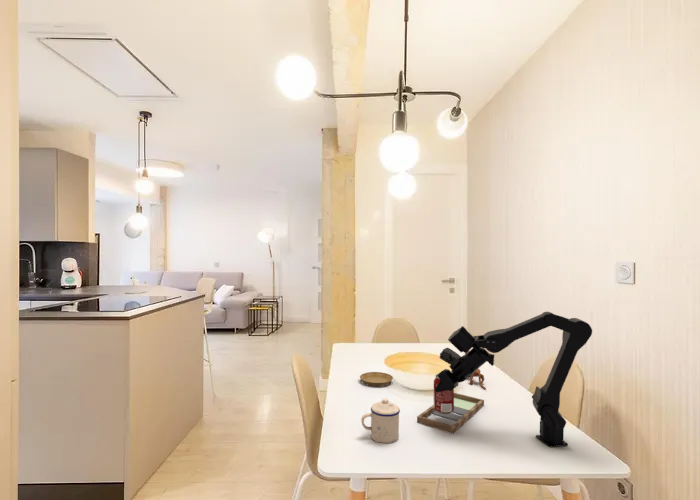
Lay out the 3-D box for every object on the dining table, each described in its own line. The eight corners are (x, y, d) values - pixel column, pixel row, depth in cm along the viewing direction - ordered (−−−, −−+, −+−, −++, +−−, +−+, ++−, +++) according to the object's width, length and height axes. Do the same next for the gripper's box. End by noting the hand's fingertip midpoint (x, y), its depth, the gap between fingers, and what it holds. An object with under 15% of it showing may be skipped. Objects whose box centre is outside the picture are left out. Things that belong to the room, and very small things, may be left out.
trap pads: (461, 422, 128) (461, 421, 128) (432, 413, 134) (432, 413, 134) (472, 412, 136) (472, 411, 136) (444, 404, 143) (444, 404, 143)
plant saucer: (370, 390, 157) (370, 384, 157) (354, 379, 170) (354, 374, 170) (399, 385, 164) (399, 379, 164) (381, 375, 177) (381, 370, 177)
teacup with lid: (395, 429, 122) (396, 393, 122) (402, 443, 113) (403, 404, 113) (359, 430, 120) (359, 394, 121) (363, 445, 111) (364, 405, 112)
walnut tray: (453, 434, 119) (453, 427, 119) (417, 422, 127) (417, 416, 127) (483, 405, 143) (483, 400, 143) (451, 396, 151) (451, 391, 151)
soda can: (454, 416, 124) (454, 380, 125) (433, 414, 126) (433, 378, 126) (453, 408, 131) (453, 373, 131) (433, 406, 132) (433, 372, 133)
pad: (472, 412, 137) (472, 411, 137) (445, 404, 143) (445, 403, 143) (480, 405, 143) (480, 404, 143) (453, 398, 150) (453, 397, 150)
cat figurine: (492, 391, 160) (493, 359, 160) (478, 392, 159) (479, 360, 159) (471, 376, 178) (472, 347, 178) (458, 376, 177) (459, 348, 176)
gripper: (464, 337, 134) (435, 362, 140) (443, 347, 119) (412, 375, 125) (487, 363, 129) (456, 388, 135) (468, 376, 114) (434, 404, 120)
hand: (439, 388), depth 129 cm, fingers closed on soda can, 7 cm apart
